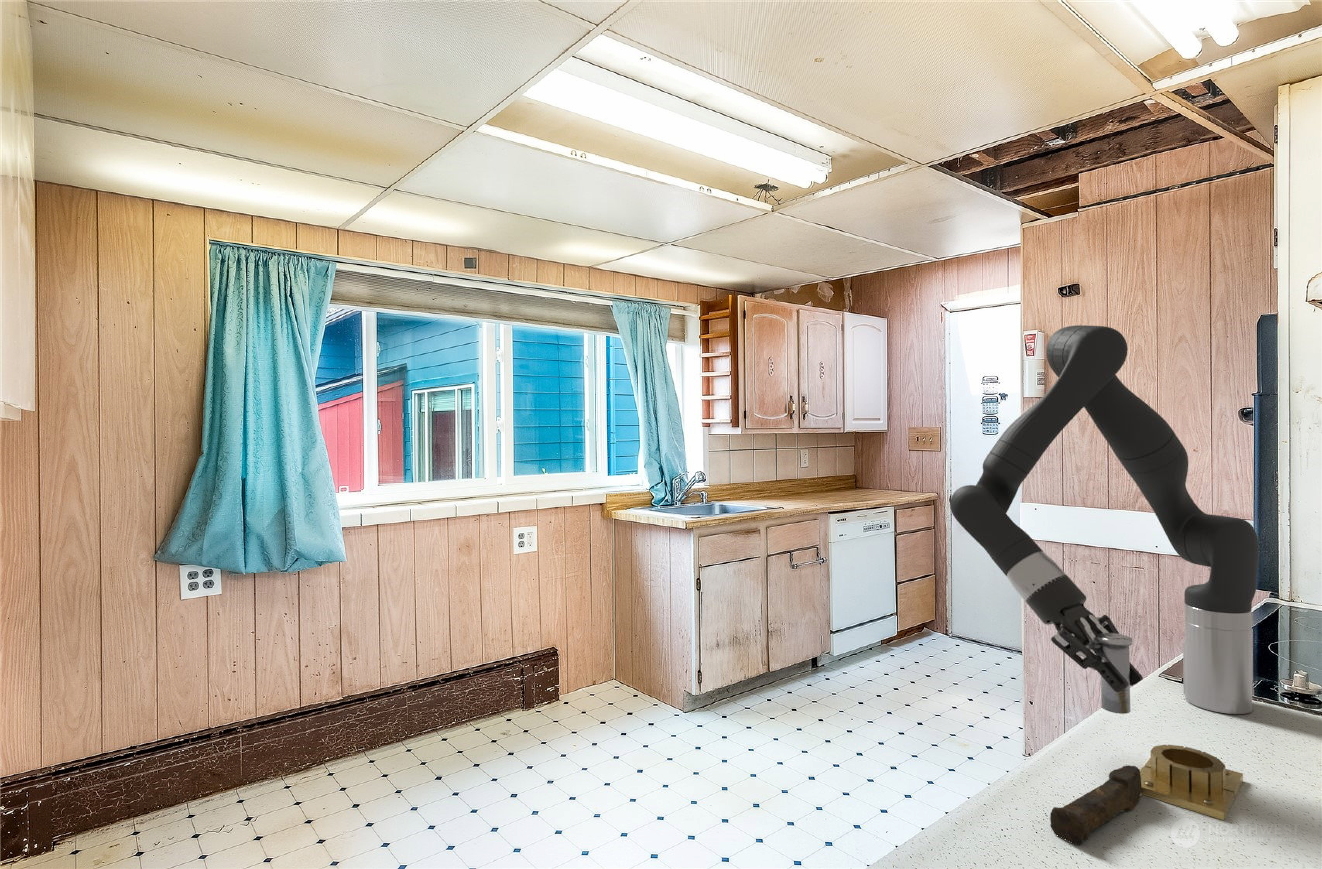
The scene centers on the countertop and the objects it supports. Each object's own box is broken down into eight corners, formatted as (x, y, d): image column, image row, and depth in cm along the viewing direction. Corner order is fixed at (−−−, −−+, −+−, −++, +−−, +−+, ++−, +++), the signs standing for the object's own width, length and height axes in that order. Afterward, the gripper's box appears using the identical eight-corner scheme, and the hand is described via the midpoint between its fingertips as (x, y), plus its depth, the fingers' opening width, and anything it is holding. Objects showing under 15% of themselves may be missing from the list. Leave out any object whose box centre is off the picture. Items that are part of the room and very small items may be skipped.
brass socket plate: (1156, 756, 104) (1156, 731, 104) (1243, 780, 97) (1242, 753, 97) (1130, 790, 95) (1130, 762, 95) (1223, 820, 87) (1223, 790, 87)
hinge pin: (1092, 702, 106) (1091, 632, 105) (1124, 702, 105) (1122, 632, 105) (1107, 714, 101) (1105, 641, 101) (1140, 715, 101) (1138, 642, 100)
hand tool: (1082, 852, 82) (1082, 813, 82) (1048, 834, 85) (1048, 797, 85) (1162, 806, 91) (1163, 771, 91) (1129, 792, 95) (1130, 758, 95)
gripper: (1036, 580, 105) (1126, 684, 95) (1084, 567, 113) (1173, 662, 103) (1003, 607, 110) (1086, 710, 100) (1052, 593, 117) (1134, 687, 107)
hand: (1130, 685), depth 101 cm, fingers closed on hinge pin, 3 cm apart
